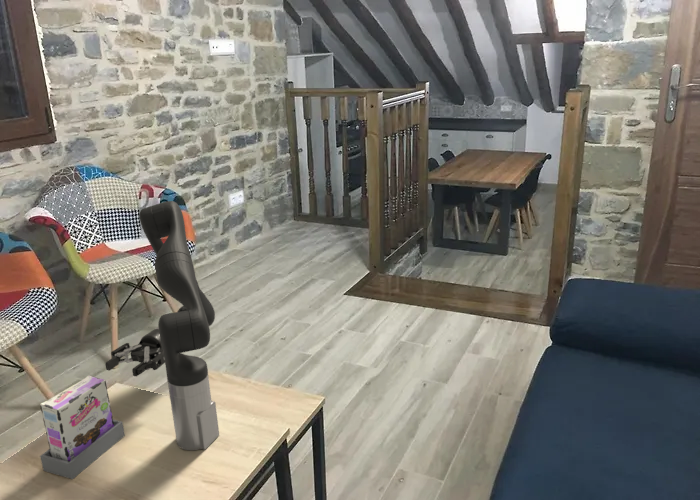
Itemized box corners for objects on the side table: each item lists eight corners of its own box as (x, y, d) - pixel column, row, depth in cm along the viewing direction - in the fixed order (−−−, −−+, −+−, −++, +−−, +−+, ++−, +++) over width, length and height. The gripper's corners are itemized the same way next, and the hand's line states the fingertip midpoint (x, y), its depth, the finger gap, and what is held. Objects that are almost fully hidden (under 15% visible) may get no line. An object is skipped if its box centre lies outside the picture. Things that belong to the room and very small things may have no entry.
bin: (124, 435, 146) (122, 421, 145) (72, 479, 131) (69, 464, 130) (97, 428, 149) (94, 415, 148) (43, 470, 135) (40, 455, 133)
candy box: (70, 472, 134) (56, 409, 128) (52, 465, 136) (37, 403, 131) (117, 437, 145) (106, 378, 140) (100, 432, 148) (88, 373, 143)
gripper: (138, 324, 164) (95, 352, 150) (181, 332, 159) (140, 361, 145) (142, 348, 167) (100, 378, 153) (184, 356, 162) (145, 388, 148)
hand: (120, 370), depth 149 cm, fingers open, 8 cm apart
